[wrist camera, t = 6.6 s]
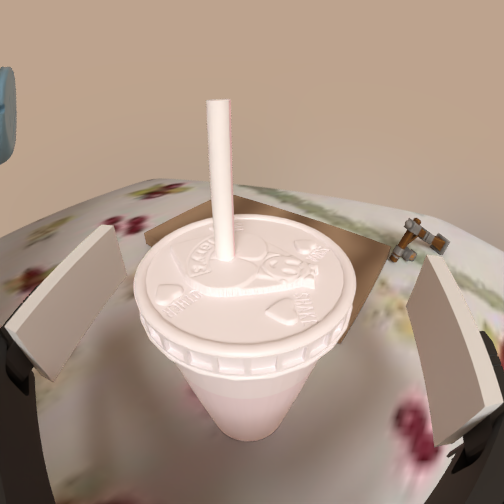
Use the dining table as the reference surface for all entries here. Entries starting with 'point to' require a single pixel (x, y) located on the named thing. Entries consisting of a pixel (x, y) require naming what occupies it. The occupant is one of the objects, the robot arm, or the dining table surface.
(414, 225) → the wooden post with brackets
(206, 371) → the smoothie
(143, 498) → the dining table surface
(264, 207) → the walnut board
